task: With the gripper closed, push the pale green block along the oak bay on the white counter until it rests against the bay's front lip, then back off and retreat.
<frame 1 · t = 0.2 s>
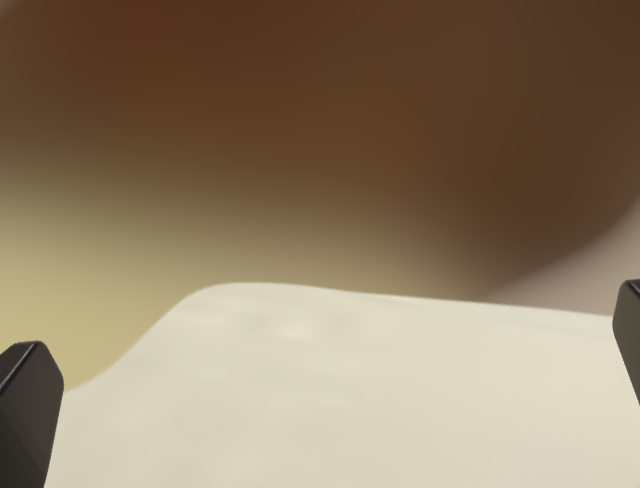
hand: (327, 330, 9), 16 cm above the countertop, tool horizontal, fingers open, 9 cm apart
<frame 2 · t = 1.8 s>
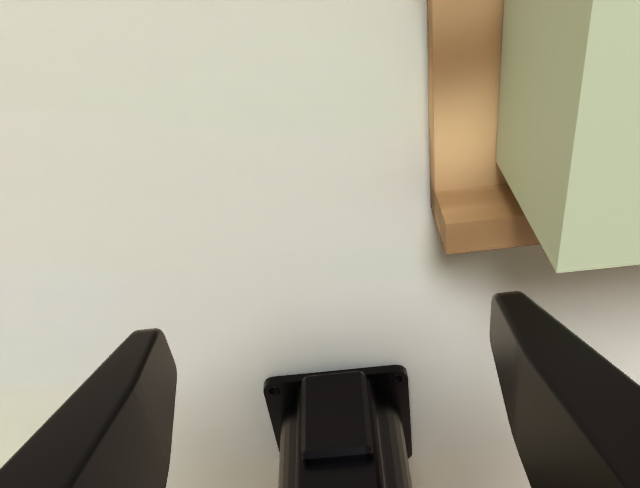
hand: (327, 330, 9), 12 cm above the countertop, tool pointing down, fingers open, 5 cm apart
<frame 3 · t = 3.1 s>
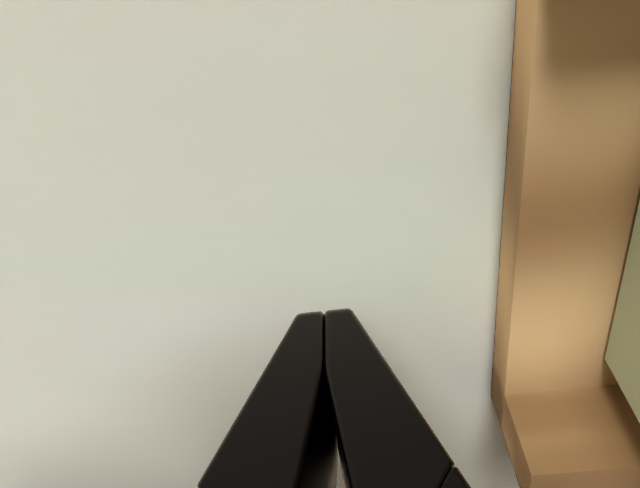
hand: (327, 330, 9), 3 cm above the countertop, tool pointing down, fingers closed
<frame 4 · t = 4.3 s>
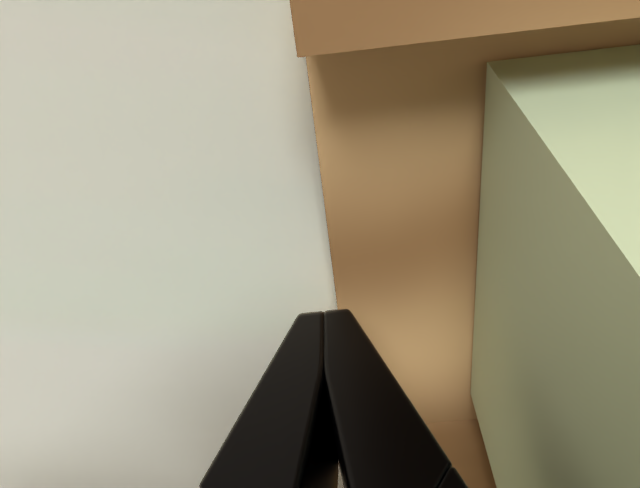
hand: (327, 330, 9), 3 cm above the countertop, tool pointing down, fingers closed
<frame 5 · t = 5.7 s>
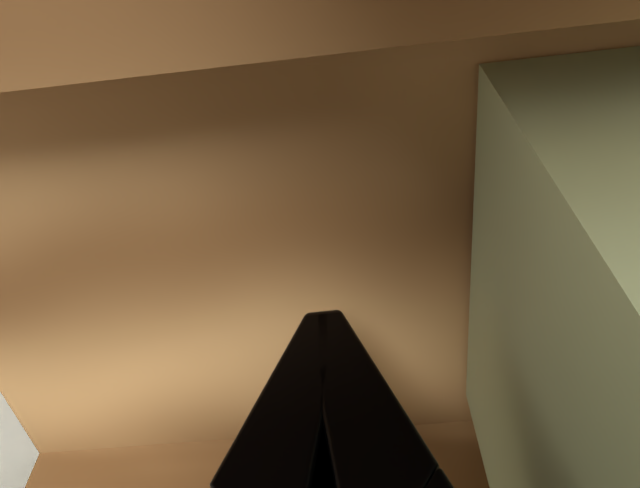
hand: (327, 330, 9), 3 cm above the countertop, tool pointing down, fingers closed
bay: (427, 228, 11), on the countertop
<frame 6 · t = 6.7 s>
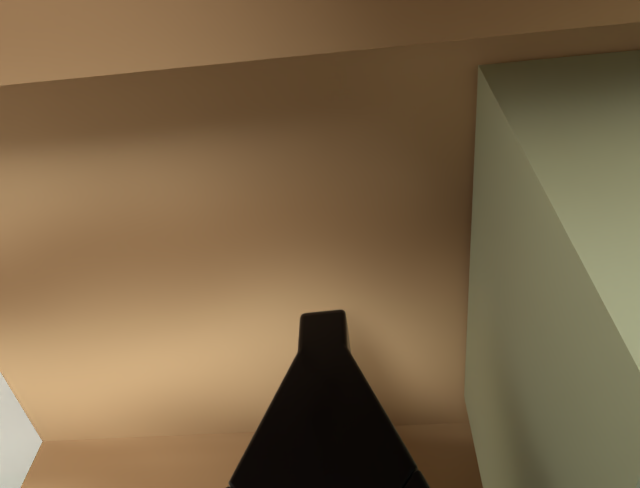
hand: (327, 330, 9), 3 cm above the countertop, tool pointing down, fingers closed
bay: (427, 229, 11), on the countertop
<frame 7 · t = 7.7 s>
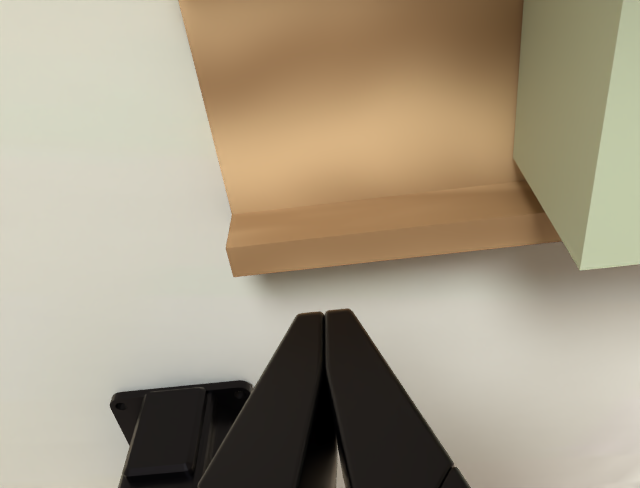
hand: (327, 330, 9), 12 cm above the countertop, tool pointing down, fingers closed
bay: (490, 43, 19), on the countertop
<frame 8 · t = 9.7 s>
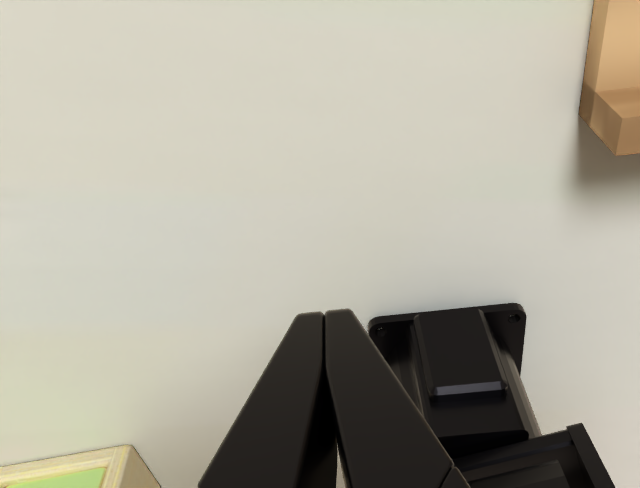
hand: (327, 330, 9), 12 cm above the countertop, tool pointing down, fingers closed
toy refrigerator: (88, 481, 32), on the countertop
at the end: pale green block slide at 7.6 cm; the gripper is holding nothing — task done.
